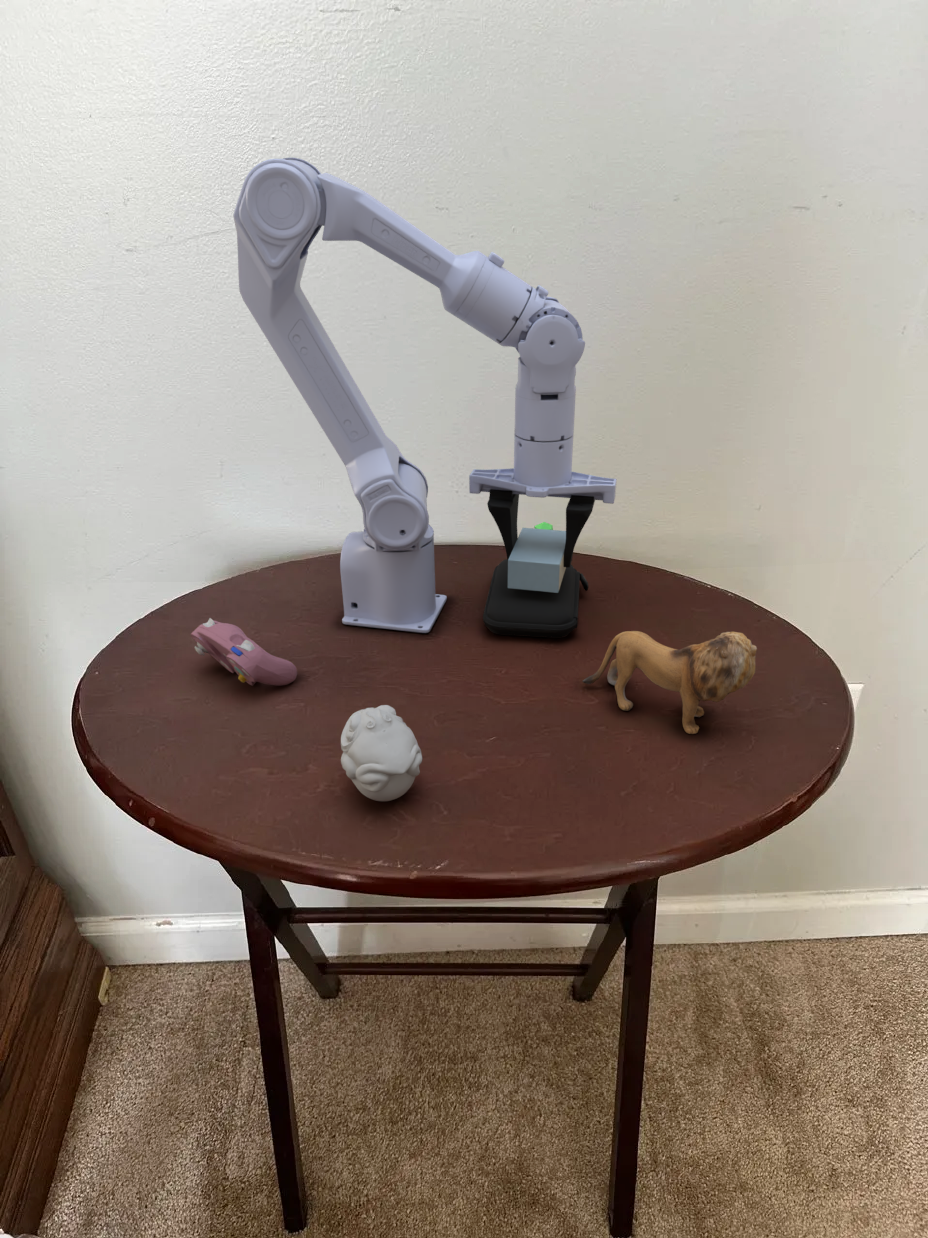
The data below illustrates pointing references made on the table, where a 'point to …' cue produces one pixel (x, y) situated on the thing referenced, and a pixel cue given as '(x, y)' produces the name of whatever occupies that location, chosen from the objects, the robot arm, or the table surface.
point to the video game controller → (242, 654)
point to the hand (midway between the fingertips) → (539, 560)
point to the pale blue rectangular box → (537, 560)
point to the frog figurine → (380, 753)
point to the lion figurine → (681, 669)
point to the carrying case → (533, 606)
